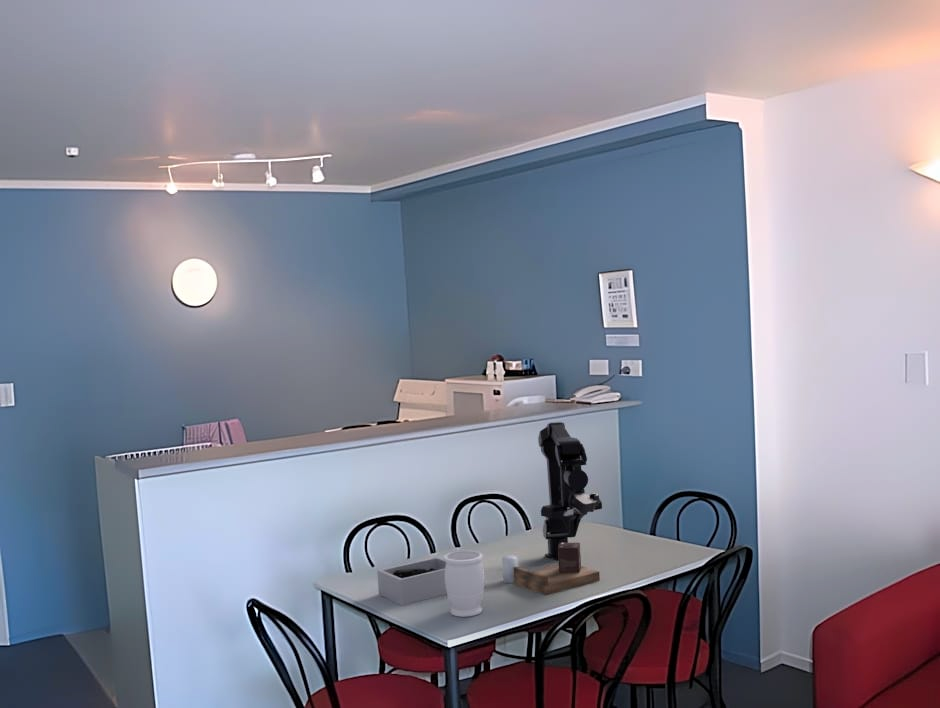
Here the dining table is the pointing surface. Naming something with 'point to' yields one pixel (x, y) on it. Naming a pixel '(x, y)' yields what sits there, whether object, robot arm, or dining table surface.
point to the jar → (464, 582)
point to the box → (569, 557)
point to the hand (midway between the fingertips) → (573, 536)
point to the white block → (509, 568)
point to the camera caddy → (413, 582)
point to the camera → (411, 572)
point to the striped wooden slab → (553, 579)
